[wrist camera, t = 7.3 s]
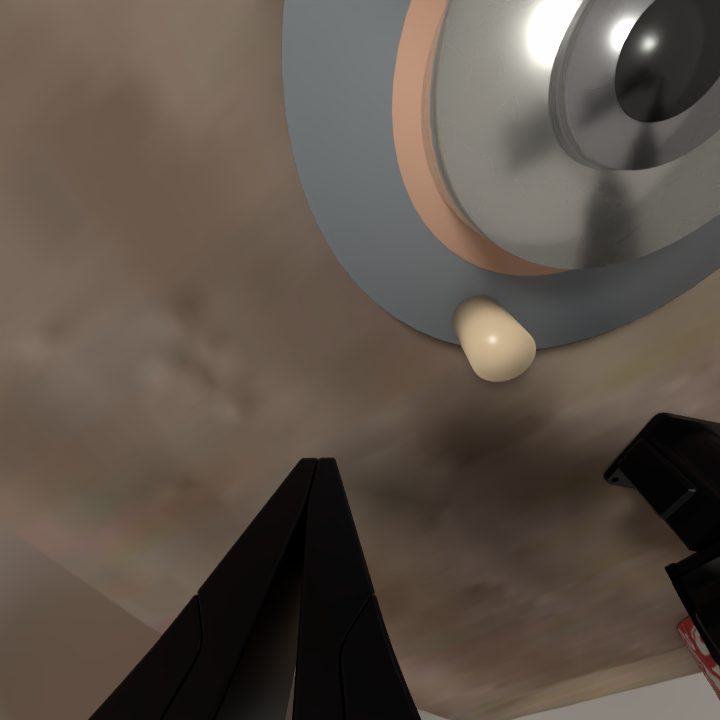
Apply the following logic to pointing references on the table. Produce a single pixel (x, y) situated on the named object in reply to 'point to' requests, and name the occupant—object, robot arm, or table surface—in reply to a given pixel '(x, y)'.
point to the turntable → (437, 200)
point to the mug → (700, 653)
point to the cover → (576, 124)
